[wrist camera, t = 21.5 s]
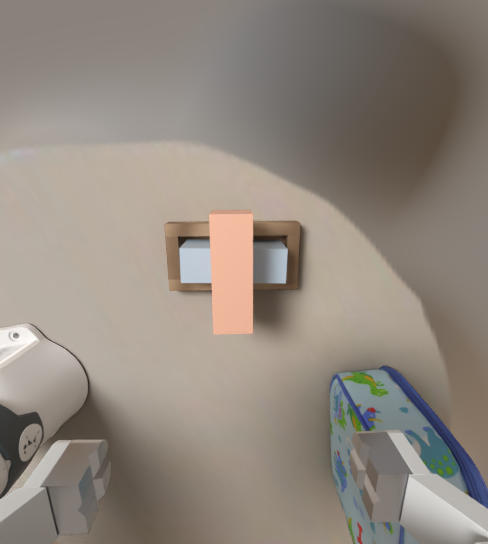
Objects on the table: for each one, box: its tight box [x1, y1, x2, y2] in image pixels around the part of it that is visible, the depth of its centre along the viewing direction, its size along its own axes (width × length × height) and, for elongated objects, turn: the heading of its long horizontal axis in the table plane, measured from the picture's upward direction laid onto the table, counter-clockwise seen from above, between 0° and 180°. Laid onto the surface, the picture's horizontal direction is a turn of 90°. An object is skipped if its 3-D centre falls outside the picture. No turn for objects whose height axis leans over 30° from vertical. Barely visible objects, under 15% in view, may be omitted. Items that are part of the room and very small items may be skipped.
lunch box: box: [330, 366, 488, 544], centre depth 38 cm, size 26×11×21 cm, turn 7°
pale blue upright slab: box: [179, 239, 288, 283], centre depth 36 cm, size 12×4×6 cm, turn 89°
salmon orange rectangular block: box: [209, 210, 253, 334], centre depth 31 cm, size 12×4×5 cm, turn 0°
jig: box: [164, 221, 300, 291], centre depth 39 cm, size 16×8×3 cm, turn 90°
